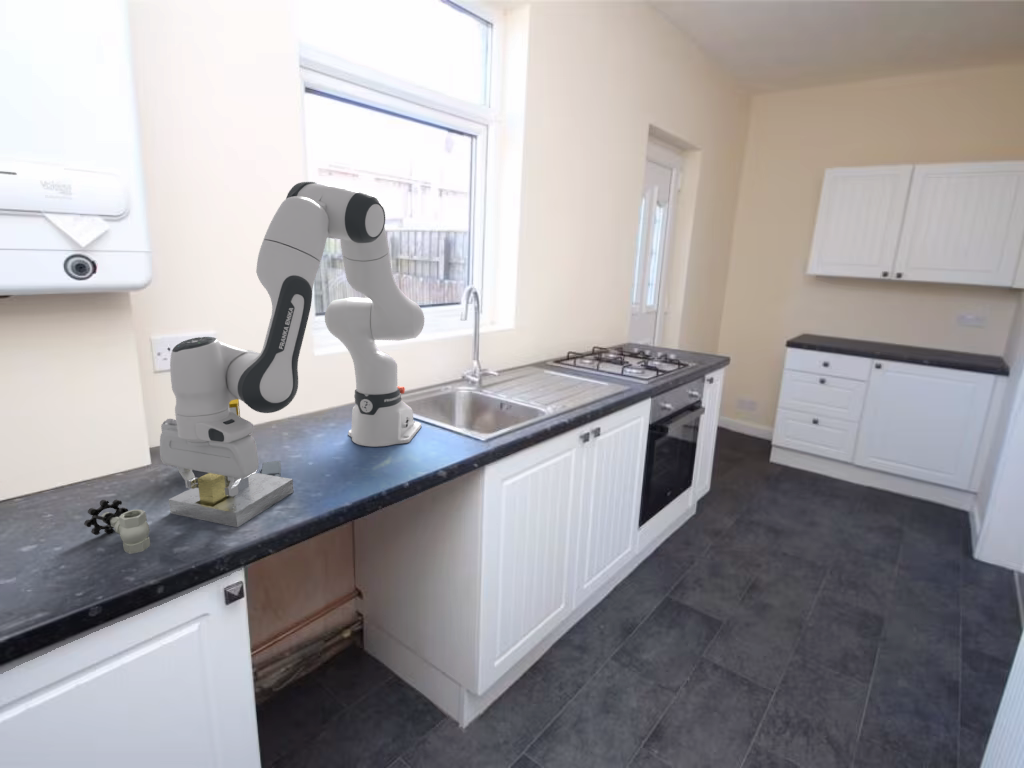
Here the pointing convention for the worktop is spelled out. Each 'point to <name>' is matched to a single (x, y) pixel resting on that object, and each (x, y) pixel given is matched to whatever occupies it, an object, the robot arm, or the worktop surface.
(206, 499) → the yellow rectangular block
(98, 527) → the valve
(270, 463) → the bracket
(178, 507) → the square plinth with cube
